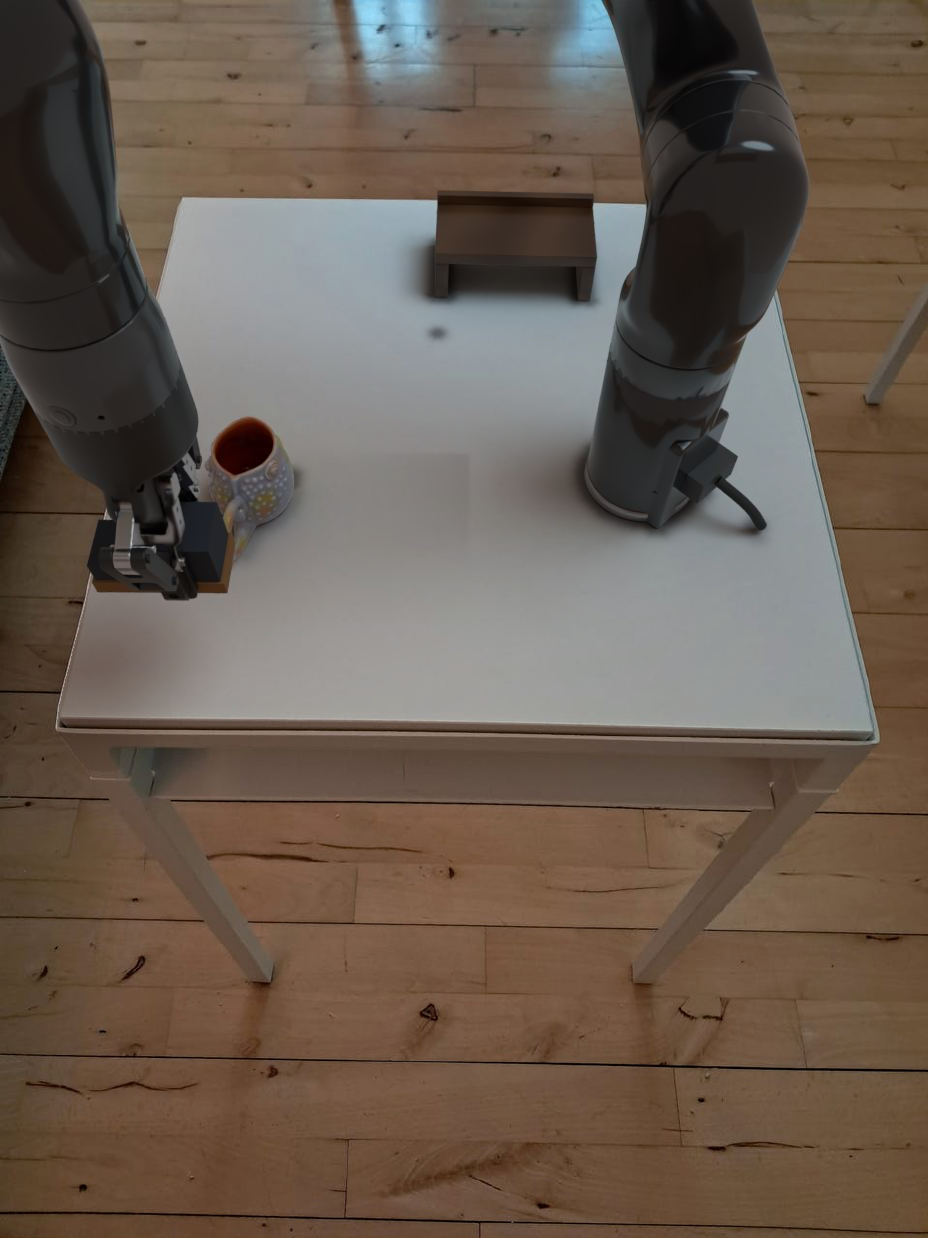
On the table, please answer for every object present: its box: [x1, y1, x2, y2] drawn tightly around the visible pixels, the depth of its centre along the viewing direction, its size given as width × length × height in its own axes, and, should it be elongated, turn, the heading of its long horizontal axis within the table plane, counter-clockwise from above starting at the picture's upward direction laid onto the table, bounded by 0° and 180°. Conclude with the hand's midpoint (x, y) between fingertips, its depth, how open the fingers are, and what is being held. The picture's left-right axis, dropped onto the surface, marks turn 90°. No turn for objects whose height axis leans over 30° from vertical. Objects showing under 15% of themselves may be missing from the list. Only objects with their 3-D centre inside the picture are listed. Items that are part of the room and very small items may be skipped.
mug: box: [203, 416, 295, 562], centre depth 75 cm, size 12×7×7 cm, turn 170°
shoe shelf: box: [434, 189, 598, 302], centre depth 92 cm, size 15×8×6 cm, turn 89°
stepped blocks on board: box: [86, 501, 235, 594], centre depth 60 cm, size 8×4×5 cm, turn 90°
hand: (187, 563), depth 61 cm, fingers closed on stepped blocks on board, 4 cm apart
